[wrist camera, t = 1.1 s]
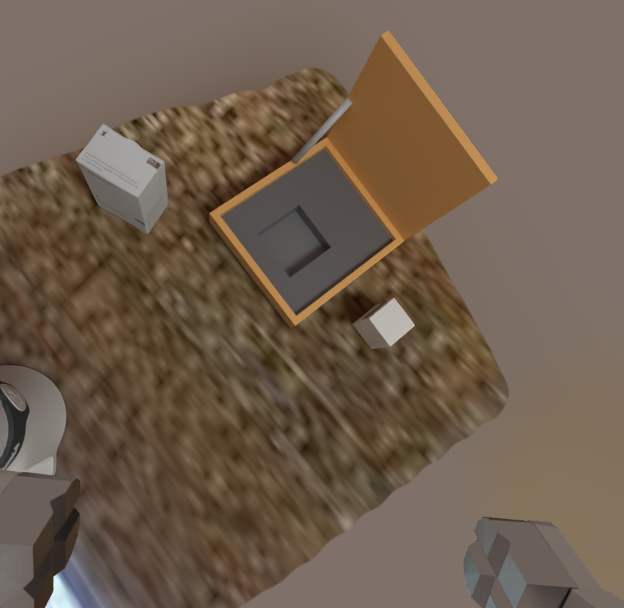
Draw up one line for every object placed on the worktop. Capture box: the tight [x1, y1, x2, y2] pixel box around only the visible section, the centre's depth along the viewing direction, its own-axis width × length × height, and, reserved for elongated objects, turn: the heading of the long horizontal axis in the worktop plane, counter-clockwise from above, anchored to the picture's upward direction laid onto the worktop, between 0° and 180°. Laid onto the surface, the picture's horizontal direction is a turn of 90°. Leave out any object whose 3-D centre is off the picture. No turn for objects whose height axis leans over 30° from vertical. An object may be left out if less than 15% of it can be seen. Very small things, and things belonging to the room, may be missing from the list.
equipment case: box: [209, 31, 498, 329], centre depth 59 cm, size 23×20×26 cm
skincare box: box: [76, 124, 168, 234], centre depth 59 cm, size 8×6×15 cm
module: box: [353, 298, 415, 349], centre depth 68 cm, size 5×5×8 cm
